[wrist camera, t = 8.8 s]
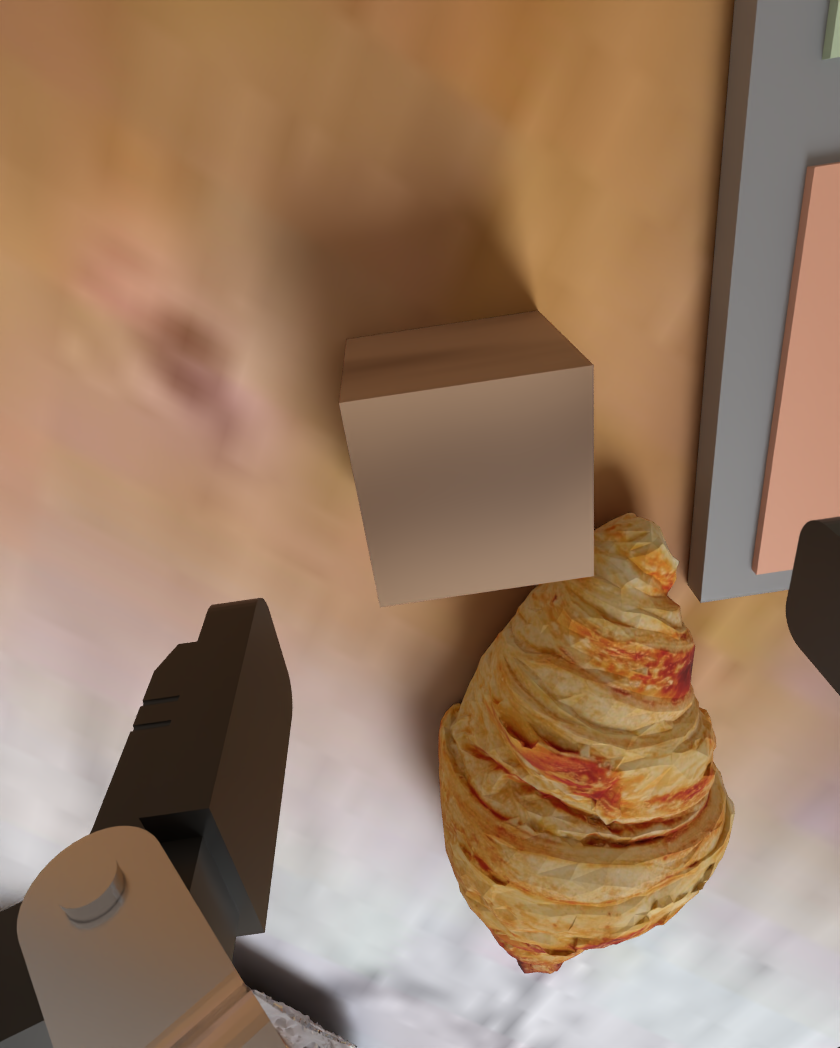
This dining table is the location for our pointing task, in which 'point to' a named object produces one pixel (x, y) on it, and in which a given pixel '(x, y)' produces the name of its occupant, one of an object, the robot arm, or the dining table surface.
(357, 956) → the dining table surface
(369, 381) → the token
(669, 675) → the croissant
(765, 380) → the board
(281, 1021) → the food plate
